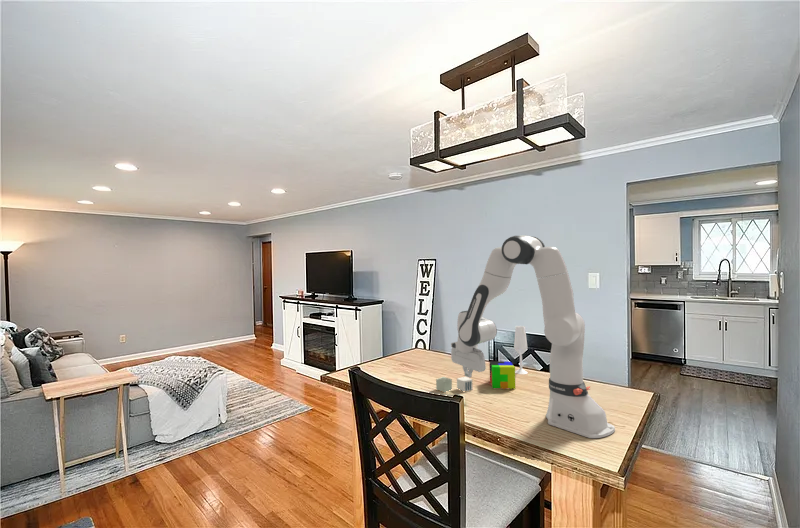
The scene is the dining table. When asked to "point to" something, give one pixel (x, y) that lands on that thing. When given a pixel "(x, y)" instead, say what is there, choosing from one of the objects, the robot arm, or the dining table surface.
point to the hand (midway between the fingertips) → (468, 376)
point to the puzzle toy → (502, 374)
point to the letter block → (464, 384)
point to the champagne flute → (520, 345)
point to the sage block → (443, 384)
